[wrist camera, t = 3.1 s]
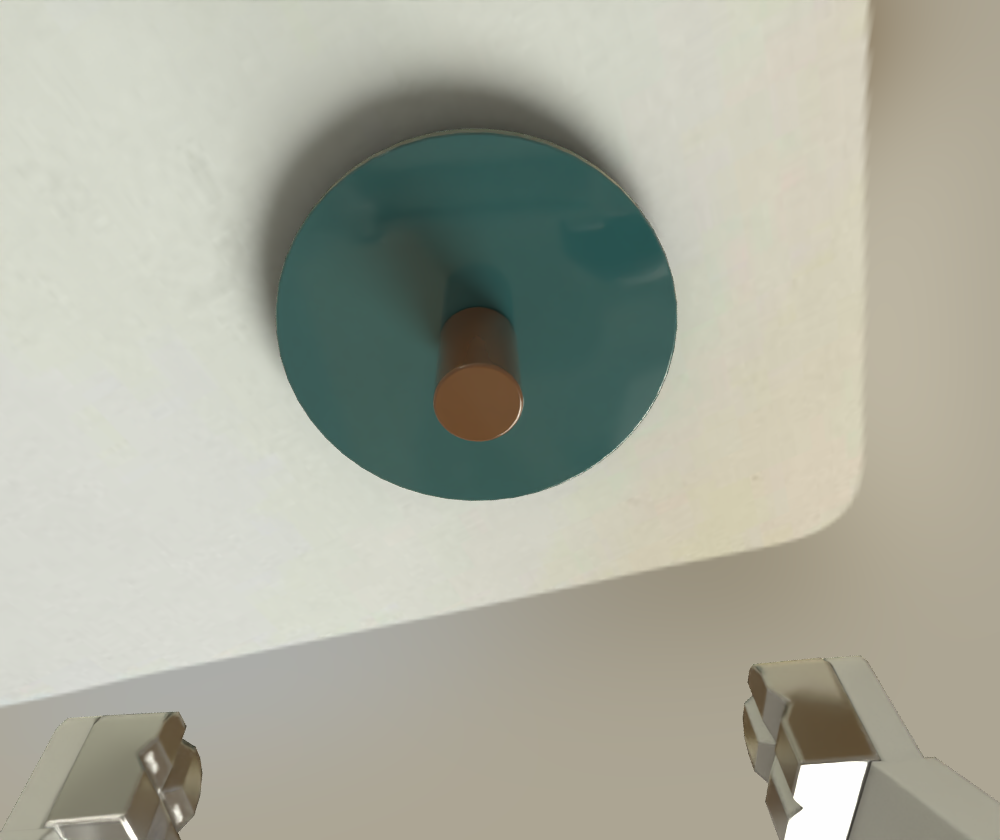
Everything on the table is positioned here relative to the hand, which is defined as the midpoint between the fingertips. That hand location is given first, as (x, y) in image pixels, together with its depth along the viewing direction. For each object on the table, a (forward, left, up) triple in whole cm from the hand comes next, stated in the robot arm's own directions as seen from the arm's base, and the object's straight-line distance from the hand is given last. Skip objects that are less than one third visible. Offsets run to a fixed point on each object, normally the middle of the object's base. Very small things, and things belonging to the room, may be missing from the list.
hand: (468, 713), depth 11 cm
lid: (0, 0, -13) cm, 13 cm away
